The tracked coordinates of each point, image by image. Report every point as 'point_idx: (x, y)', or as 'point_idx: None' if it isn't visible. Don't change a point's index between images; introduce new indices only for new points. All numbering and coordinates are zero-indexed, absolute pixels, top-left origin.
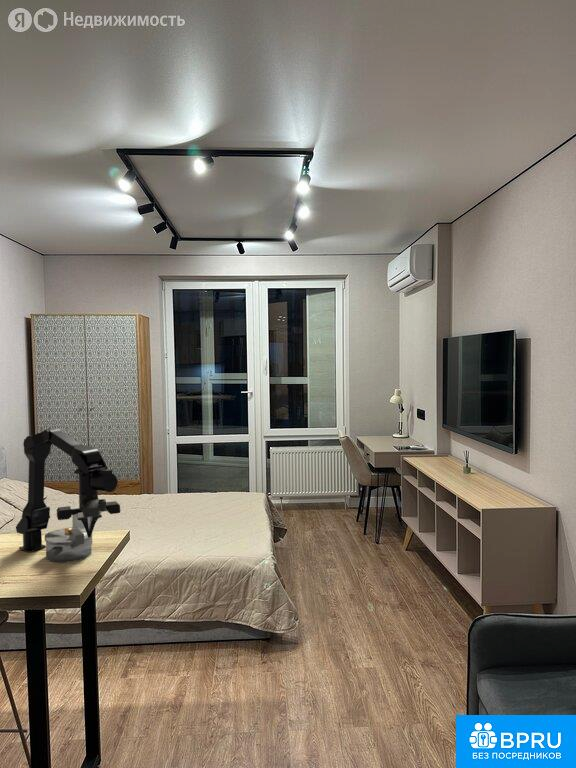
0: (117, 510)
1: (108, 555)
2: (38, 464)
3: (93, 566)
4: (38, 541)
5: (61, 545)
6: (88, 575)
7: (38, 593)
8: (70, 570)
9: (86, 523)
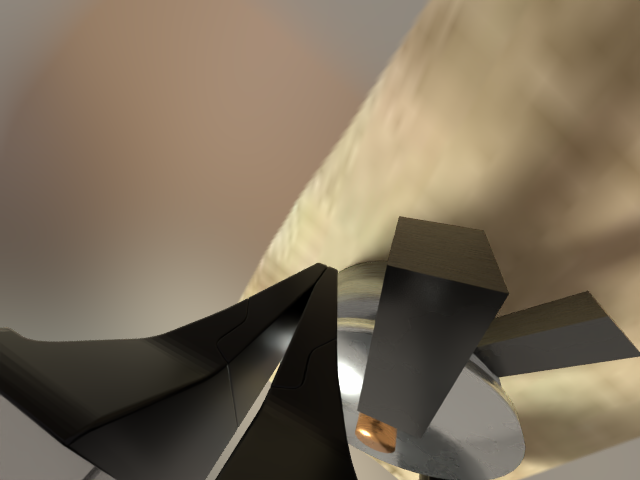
0: None
1: (283, 228)
2: None
3: (375, 141)
4: None
5: (472, 357)
6: None
7: None
8: (502, 164)
9: (295, 388)
